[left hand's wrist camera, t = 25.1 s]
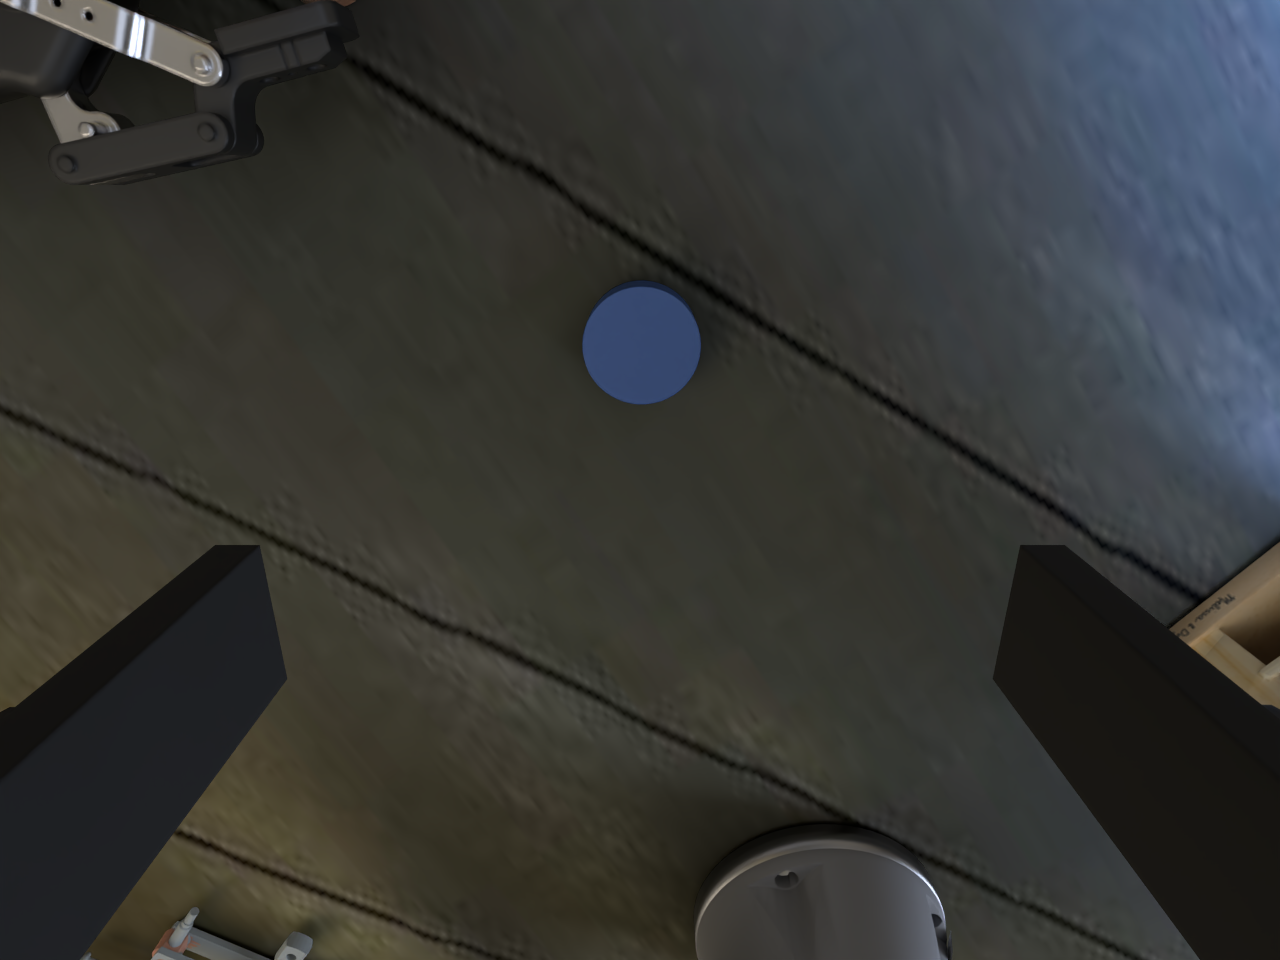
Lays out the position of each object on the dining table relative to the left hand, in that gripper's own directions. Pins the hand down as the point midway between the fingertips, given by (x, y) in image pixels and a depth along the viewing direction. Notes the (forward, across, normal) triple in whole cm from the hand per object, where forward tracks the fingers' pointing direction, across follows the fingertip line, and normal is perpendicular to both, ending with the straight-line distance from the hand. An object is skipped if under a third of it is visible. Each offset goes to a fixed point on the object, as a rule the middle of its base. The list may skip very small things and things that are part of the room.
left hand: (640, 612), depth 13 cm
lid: (+20, 0, -1) cm, 20 cm away
